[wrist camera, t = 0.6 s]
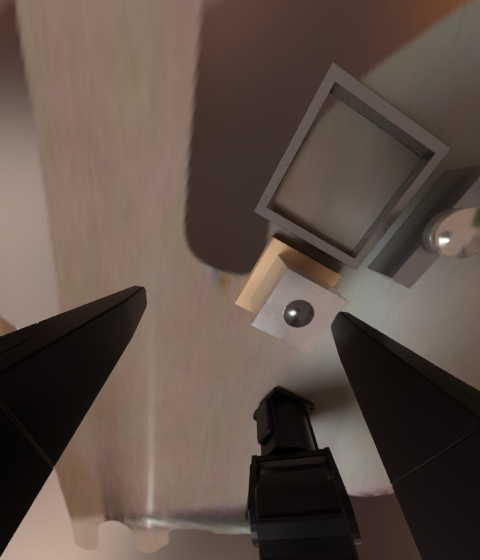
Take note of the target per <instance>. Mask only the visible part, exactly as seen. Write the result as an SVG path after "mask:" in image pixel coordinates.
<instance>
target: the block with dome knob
mask: <svg viewBox="0 0 480 560" xmlns="http://www.w3.org/2000/svg"><path fill="white" fill-rule="evenodd" d="M250 301H251V325H252V326H254V327H256V328H258V329H260V330H262V331H264V332H266V333H268V334H270V335H272V336H274V337H276V338H278V339H280V340H282V341H284V342H286V343H288V344H291V345H293V346H295V347H297V348H299V349H301V350H303V351H305V352H308V351H309V350H310V349H311V347H312V346H313V345H314V344H315V343H316V341H317V340H318V339H319V338H320V337H321V335H322V334H323V333H324V332H325V330H326V329H327V328H328V327H329V326H330V324H331V323H332V322H333V320H334V318H335V316H336V314H337V313H338V312H341V311H342V310H343V308H344V307H345V306H346V305H347V304H348V301H347V300H346V299H345V298H344V297H342V296H341V295H340V294H339V293H338V292H337V291H335V290H334V289H333V288H332V287H331V286H330V285H328V284H327V283H326V282H325V281H324V280H322V279H320V278H318V277H316V276H315V275H313V274H311V273H309V272H307V271H306V270H304V269H302V268H300V267H298V266H297V265H295V264H293V263H291V262H289V261H288V260H286V259H284V258H282V257H280V256H279V255H278V256H277V257H276V259H275V260H274V262H273V264H272V265H271V267H270V269H269V270H268V272H267V273H266V275H265V277H264V278H263V280H262V282H261V283H260V285H259V286H258V288H257V290H256V291H255V293H254V295H253V296H252V298H251V299H250Z"/></svg>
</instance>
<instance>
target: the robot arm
mask: <svg viewBox="0 0 480 560" xmlns="http://www.w3.org/2000/svg"><path fill="white" fill-rule="evenodd" d="M146 306H147V298H146V290H145V288H144V287H141V286H133V287H130V288H127V289H125V290H122V291H119V292H117V293H114V294H111V295H109V296H106V297H104V298H101V299H98V300H96V301H93V302H90V303H88V304H85V305H82V306H80V307H77V308H75V309H72V310H69V311H67V312H64V313H61V314H59V315H56V316H53V317H51V318H48V319H46V320H43V321H40V322H39V323H38V324H37V323H35V324H32V325H30V326H27V327H24V328H22V329H19V330H16V331H14V332H11V333H8V334H5V335H3V336H0V557H1V555H2V553H3V552H4V550H5V548H6V547H7V545H8V543H9V542H10V540H11V538H12V537H13V535H14V533H15V532H16V530H17V528H18V527H19V525H20V523H21V522H22V520H23V518H24V517H25V515H26V514H27V512H28V510H29V509H30V507H31V505H32V503H33V502H34V500H35V498H36V497H37V495H38V494H39V492H40V490H41V489H42V487H43V485H44V483H45V482H46V480H47V479H48V477H49V475H50V474H51V472H52V470H53V467H54V466H55V465H56V463H57V462H58V460H59V458H60V457H61V455H62V453H63V452H64V450H65V448H66V447H67V445H68V443H69V442H70V440H71V438H72V437H73V435H74V433H75V432H76V430H77V428H78V427H79V425H80V423H81V422H82V420H83V418H84V417H85V415H86V413H87V412H88V410H89V408H90V407H91V405H92V403H93V402H94V400H95V398H96V397H97V395H98V393H99V392H100V390H101V388H102V387H103V385H104V383H105V382H106V380H107V378H108V377H109V375H110V374H111V372H112V370H113V369H114V367H115V365H116V364H117V362H118V360H119V359H120V357H121V355H122V354H123V352H124V350H125V349H126V347H127V345H128V344H129V342H130V340H131V338H132V337H133V335H134V333H135V330H136V328H137V326H138V324H139V322H140V319H141V317H142V315H143V313H144V311H145V308H146ZM331 331H332V334H333V337H334V341H335V344H336V348H337V351H338V354H339V357H340V360H341V363H342V365H343V368H344V370H345V372H346V375H347V377H348V380H349V382H350V385H351V387H352V389H353V392H354V394H355V397H356V399H357V402H358V404H359V407H360V409H361V411H362V414H363V416H364V419H365V421H366V424H367V426H368V428H369V431H370V433H371V436H372V438H373V441H374V443H375V445H376V448H377V450H378V453H379V455H380V458H381V460H382V463H383V465H384V467H385V470H386V472H387V475H388V477H389V480H390V482H391V484H392V487H393V490H394V492H395V495H396V497H397V499H398V502H399V504H400V507H401V509H402V512H403V514H404V516H405V519H406V521H407V524H408V526H409V529H410V531H411V533H412V536H413V538H414V541H415V543H416V546H417V548H418V550H419V553H420V555H421V558H422V560H480V391H479V390H477V389H475V388H473V387H472V386H470V385H468V384H466V383H465V382H463V381H461V380H460V379H458V378H456V377H454V376H453V375H451V374H449V373H448V372H446V371H444V370H443V369H441V368H439V367H438V366H435V365H434V364H433V363H431V362H429V361H428V360H426V359H424V358H423V357H421V356H419V355H418V354H416V353H414V352H413V351H411V350H409V349H408V348H406V347H404V346H403V345H401V344H399V343H398V342H396V341H394V340H393V339H391V338H389V337H388V336H386V335H384V334H383V333H381V332H379V331H378V330H376V329H375V328H373V327H371V326H370V325H368V324H366V323H365V322H363V321H361V320H360V319H358V318H356V317H355V316H353V315H351V314H350V313H347V312H338V313H337V314H336V316H335V318H334V320H333V322H332V324H331ZM314 410H315V406H314V404H312V403H310V402H308V401H306V400H303V399H301V398H299V397H297V396H295V395H292V394H290V393H288V392H286V391H284V390H281V389H279V388H274V389H273V391H272V392H271V393H270V394H269V396H268V397H267V398H266V399H265V400H264V401H263V402H262V404H261V405H260V406H259V407H258V409H257V410H256V412H255V413H254V414H253V419H254V420H256V421H257V440H258V443H259V444H260V445H261V456H257V455H252V463H251V464H250V477H249V493H248V499H247V505H246V511H245V518H246V522H247V523H248V525H249V526H250V530H251V535H252V541H253V545H254V548H255V549H259V557H260V560H359V557H358V553H357V550H356V546H355V544H361V543H362V541H361V536H360V532H359V529H358V525H357V521H356V518H355V515H354V511H353V508H352V505H351V502H350V500H349V497H348V494H347V491H346V489H345V486H344V484H343V481H342V479H341V476H340V474H339V471H338V469H337V466H336V464H335V461H334V459H333V456H332V454H331V451H330V449H329V447H325V448H324V449H319V448H318V445H317V442H316V438H315V435H314V432H313V428H312V425H311V422H310V419H309V415H310V414H311V413H312V412H313V411H314Z"/></svg>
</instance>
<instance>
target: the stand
mask: <svg viewBox="0 0 480 560" xmlns="http://www.w3.org/2000/svg"><path fill="white" fill-rule="evenodd" d="M278 255H279V256H280V257H282V258H284V259H286V260H288V261H289V262H291V263H293V264H295V265H297V266H298V267H300V268H302V269H304V270H306V271H307V272H309V273H311V274H313V275H315V276H316V277H318V278H320V279H322V280H324V281H325V282H326V283H327V284H328V285H330V286H331V287H332V288H333V287H334V286H335V284H336V283H337V282H338V280H339V279H340V278H341V275H339V274H338V273H336V272H334V271H332V270H331V269H329V268H327V267H325V266H324V265H322V264H320V263H318V262H317V261H315V260H313V259H311V258H309V257H308V256H306V255H304V254H302V253H301V252H299V251H297V250H295V249H294V248H292V247H290V246H288V245H287V244H285V243H283V242H281V241H279V240H278V239H276V238H274V237H271V239H270V241H269V242H268V244H267V246H266V248H265V249H264V251H263V253H262V254H261V256H260V258H259V259H258V261H257V263H256V265H255V266H254V268H253V270H252V271H251V273H250V275H249V277H248V278H247V280H246V282H245V283H244V285H243V287H242V289H241V290H240V292H239V294H238V295H237V297H236V299H235V304H237V305H239V306H241V307H243V308H245V309H247V310H249V311H251V301H250V299H251V298H252V296H253V295H254V293H255V291H256V290H257V288H258V286H259V285H260V283H261V282H262V280H263V278H264V277H265V275H266V273H267V272H268V270H269V269H270V267H271V265H272V264H273V262H274V260H275V259H276V257H277V256H278Z"/></svg>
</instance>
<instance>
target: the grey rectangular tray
mask: <svg viewBox="0 0 480 560" xmlns="http://www.w3.org/2000/svg"><path fill="white" fill-rule="evenodd" d="M329 92H330V93H332V94H333V95H334V96H336V97H337V98H339V99H340V100H341V101H343V102H344V103H346V104H347V105H349V106H350V107H351V108H353V109H354V110H356V111H357V112H358V113H360V114H361V115H363V116H364V117H366V118H367V119H368V120H370V121H371V122H373V123H374V124H375V125H377V126H378V127H380V128H381V129H383V130H384V131H385V132H387V133H388V134H390V135H391V136H393V137H394V138H395V139H397V140H398V141H400V142H401V143H402V144H404V145H405V146H407V147H408V148H410V149H411V150H412V151H414V152H415V153H417V154H418V155H419V156H421V157H422V159H421V161H420V162H419V163H418V165H417V166H416V167H415V169H414V170H413V171H412V173H411V174H410V175H409V177H408V178H407V179H406V181H405V182H404V183H403V185H402V186H401V187H400V189H399V190H398V191H397V193H396V194H395V195H394V197H393V198H392V199H391V201H390V202H389V203H388V205H387V206H386V207H385V209H384V210H383V211H382V213H381V214H380V215H379V217H378V218H377V219H376V221H375V222H374V223H373V225H372V226H371V227H370V229H369V230H368V231H367V233H366V234H365V235H364V237H363V238H362V239H361V241H360V242H359V243H358V245H357V246H356V247H355V249H354V250H353V251H352V253H351V254H350V255H347V254H345V253H343V252H342V251H340V250H338V249H337V248H335V247H333V246H332V245H330V244H328V243H326V242H325V241H323V240H321V239H320V238H318V237H316V236H314V235H313V234H311V233H309V232H308V231H306V230H304V229H303V228H301V227H299V226H297V225H296V224H294V223H292V222H291V221H289V220H287V219H285V218H284V217H282V216H280V215H279V214H277V213H275V212H274V211H272V210H270V209H268V208H267V205H268V203H269V201H270V200H271V198H272V196H273V194H274V192H275V190H276V189H277V187H278V185H279V183H280V181H281V180H282V178H283V176H284V174H285V172H286V170H287V169H288V167H289V165H290V163H291V161H292V159H293V158H294V156H295V154H296V152H297V150H298V148H299V147H300V145H301V143H302V141H303V139H304V137H305V136H306V134H307V132H308V130H309V128H310V126H311V125H312V123H313V121H314V119H315V117H316V115H317V113H318V112H319V110H320V108H321V106H322V104H323V102H324V101H325V99H326V97H327V95H328V93H329ZM450 149H451V148H450V147H448V146H447V145H445V144H444V143H443V142H441V141H440V140H439V139H437V138H436V137H434V136H433V135H432V134H430V133H429V132H428V131H426V130H425V129H423V128H422V127H421V126H419V125H418V124H417V123H415V122H414V121H413V120H411V119H410V118H408V117H407V116H406V115H404V114H403V113H402V112H400V111H399V110H397V109H396V108H395V107H393V106H392V105H391V104H389V103H388V102H387V101H385V100H384V99H382V98H381V97H380V96H378V95H377V94H376V93H374V92H373V91H371V90H370V89H369V88H367V87H366V86H365V85H363V84H362V83H361V82H359V81H358V80H356V79H355V78H354V77H352V76H351V75H350V74H348V73H347V72H345V71H344V70H342V69H341V68H340V67H339V66H337V65H336V64H334V63H332V65H331V67H330V69H329V70H328V73H327V74H326V76H325V78H324V80H323V82H322V84H321V85H320V87H319V89H318V91H317V93H316V95H315V97H314V99H313V101H312V103H311V104H310V106H309V108H308V110H307V112H306V114H305V116H304V118H303V120H302V121H301V123H300V125H299V127H298V129H297V131H296V133H295V135H294V137H293V139H292V141H291V142H290V144H289V146H288V148H287V150H286V152H285V154H284V156H283V157H282V159H281V161H280V163H279V165H278V167H277V169H276V171H275V173H274V175H273V176H272V178H271V180H270V182H269V184H268V186H267V188H266V190H265V191H264V193H263V195H262V197H261V199H260V201H259V203H258V205H257V207H256V209H255V210H254V212H256V213H258V214H260V215H261V216H263V217H265V218H267V219H268V220H270V221H271V222H273V223H275V224H277V225H278V226H280V227H282V228H284V229H285V230H287V231H289V232H290V233H292V234H294V235H296V236H297V237H299V238H301V239H303V240H304V241H306V242H308V243H310V244H311V245H313V246H315V247H316V248H318V249H320V250H322V251H323V252H325V253H327V254H329V255H330V256H332V257H334V258H336V259H337V260H339V261H341V262H342V263H344V264H346V265H348V266H349V267H351V268H353V269H355V270H356V269H357V268H358V266H359V265H360V264H361V263H362V261H363V260H364V259H365V258H366V256H367V255H368V254H369V252H370V251H371V250H372V249H373V247H374V246H375V245H376V244H377V242H378V241H379V240H380V238H381V237H382V236H383V235H384V233H385V232H386V231H387V229H388V228H389V227H390V226H391V224H392V223H393V222H394V221H395V219H396V218H397V217H398V215H399V214H400V213H401V212H402V210H403V209H404V208H405V206H406V205H407V204H408V203H409V201H410V200H411V199H412V198H413V196H414V195H415V194H416V192H417V191H418V190H419V189H420V187H421V186H422V185H423V183H424V182H425V181H426V180H427V178H428V177H429V176H430V175H431V173H432V172H433V171H434V169H435V168H436V167H437V166H438V164H439V163H440V162H441V161H442V159H443V158H444V157H445V155H446V154H447V153H448V152H449V150H450ZM478 251H480V165H477V166H473V167H468V168H464V169H459V170H454V171H450V172H445V173H443V175H442V176H441V177H440V178H439V180H438V181H437V182H436V183H435V185H434V186H433V187H432V188H431V190H430V191H429V192H428V193H427V195H426V196H425V197H424V198H423V200H422V201H421V202H420V203H419V205H418V206H417V207H416V208H415V210H414V211H413V212H412V213H411V215H410V216H409V217H408V218H407V219H406V221H405V222H404V223H403V224H402V226H401V227H400V228H399V229H398V231H397V232H396V233H395V234H394V236H393V237H392V238H391V239H390V241H389V242H388V243H387V244H386V246H385V247H384V248H383V249H382V251H381V252H380V253H379V254H378V256H377V257H376V258H375V259H374V261H373V262H372V263H371V264H370V266H369V267H368V268H369V269H371V270H372V271H374V272H376V273H377V274H379V275H381V276H383V277H385V278H387V279H389V280H391V281H394V282H396V283H398V284H400V285H403V286H405V287H407V288H409V289H410V287H411V286H412V285H413V284H414V283H415V282H416V281H417V280H418V279H419V278H420V277H421V276H422V274H423V273H424V272H425V271H426V270H427V269H428V268H429V267H430V266H431V265H432V264H433V262H434V261H435V260H436V259H437V258H438V257H439V256H440V255H442V256H446V257H451V258H465V257H468V256H471V255H473V254H475V253H477V252H478Z"/></svg>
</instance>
